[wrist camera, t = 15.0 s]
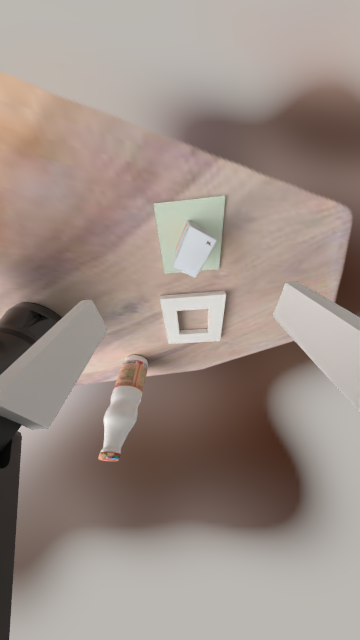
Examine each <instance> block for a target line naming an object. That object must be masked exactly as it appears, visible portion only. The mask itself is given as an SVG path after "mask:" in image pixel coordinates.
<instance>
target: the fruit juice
mask: <svg viewBox="0 0 360 640" xmlns="http://www.w3.org/2000/svg"><path fill="white" fill-rule="evenodd" d="M147 369H148V361H147V360H146V359H145V358H144V357H142V356H138V355H131V356H128V357H127V358H126V359H125V361H124V363H123V366H122V368H121V371H120V374H119V376H118V379H117V382H116V384H115V387H114V390H113V392H112V396H111V404H110V406H109V408H108V409H107V411H106V413H105V416H104V428H105V431H104V446H103V449H102V450H101V452H100V454H99V459H100V460H103V461H118V460H119V458H120V455H121V454H120V453H121V451H120V450H121V447H122V444H123V443H124V441H125V439H126V437H127V435H128V433H129V431H130V430H131V428H132V427H133V426H134V424H135V422H136V419H137V407H138V406H139V403H140V401H141V397H142V393H143V388H144V383H145V378H146V374H147Z"/></svg>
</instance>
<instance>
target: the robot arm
mask: <svg viewBox="0 0 360 640" xmlns="http://www.w3.org/2000/svg"><path fill="white" fill-rule="evenodd" d="M273 317H274V319H275V320H276V321H277V322H278V323H279V324H280V325H281V326H282V327H283V328H284V330H285V331H286V332H287V333H288V334H289V335H290V336H291V337H292V338H293V339H294V341H295V342H296V343H297V344H298V345H299V346H300V347H301V348H302V349H303V350H304V351H305V353H306V354H307V355H308V356H309V357H310V358H311V359H312V360H313V362H314V363H315V364H316V365H317V366H318V367H319V368H320V369H321V370H322V371H323V373H324V374H325V375H326V376H327V377H328V378H329V379H330V380H331V381H332V383H334V385H335V386H336V387H337V388H338V389H339V390H340V391H341V392H342V393H343V395H344V396H345V397H346V398H347V399H348V400H349V401H350V402H351V403H352V404H353V406H354V407H355V408H356V409H357V410H358V411H359V412H360V317H358V316H356V315H354V314H353V313H351V312H349V311H347V310H346V309H344V308H342V307H341V306H339V305H337V304H336V303H334V302H332V301H330V300H329V299H327V298H325V297H324V296H322V295H320V294H318V293H317V292H315V291H313V290H312V289H310V288H308V287H306V286H305V285H303V284H301V283H300V282H298V281H297V282H286V283H285V286H284V288H283V291H282V293H281V296H280V298H279V301H278V303H277V306H276V308H275V311H274V314H273ZM107 330H108V328H107V327H106V325H105V323H104V321H103V319H102V317H101V315H100V314H99V312H98V310H97V308H96V306H95V304H94V303H93V301H92V299H91V300H81V301H80V302H79V303H78V304H77V305H76V306H75V307H74V308H72V309H71V310H70V311H69V312H68V313H67V314H66V315H65V316H64V317H63V318H61V317H60V316H59V315H57V314H56V313H55V312H53V311H51V310H49V309H48V308H45V307H43V306H40V305H37V304H33V303H20V304H17V305H15V306H14V307H12V308H10V309H9V310H8V311H7V312H6V313H5V314H4V315H3V317H2V318H1V319H0V640H9V632H10V616H11V599H12V584H13V568H14V551H15V535H16V519H17V503H18V488H19V472H20V456H21V455H20V454H21V440H22V437H21V433H20V432H18V429H19V428H20V426H21V425H23V426H25V427H28V428H30V429H49V427H50V426H51V424H52V422H53V421H54V419H55V417H56V416H57V414H58V412H59V410H60V409H61V407H62V405H63V404H64V402H65V400H66V399H67V397H68V395H69V394H70V392H71V390H72V388H73V387H74V385H75V384H76V382H77V380H78V379H79V377H80V375H81V373H82V372H83V370H84V368H85V367H86V365H87V363H88V362H89V360H90V358H91V357H92V355H93V353H94V352H95V350H96V348H97V346H98V345H99V343H100V341H101V340H102V338H103V336H104V335H105V333H106V331H107Z"/></svg>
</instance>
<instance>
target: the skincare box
mask: <svg viewBox="0 0 360 640" xmlns="http://www.w3.org/2000/svg"><path fill="white" fill-rule="evenodd" d="M216 242H217V239H215V238H214V237H213V236H212V235H211V234H210V233H208V232H207V231H206V230H205V229H203V228H201V227H200V226H198V225H196V224H195V223H193V222H191V221H189V220H187V222H186V225H185V227H184V230H183V232H182V235H181V237H180V240H179V242H178V245H177V247H176V249H175V255H174V262H173V268H175V269H177V270H179V271H181V272H183V273H185V274H187V275H189V276H191V277H194V278H196V277H197V275H198V274H199V272H200V270H201V268H202V267H203V265H204V264H205V262H206V260H207V258H208V256H209V254H210V252H211V251H212V249H213V247H214V245H215V243H216Z"/></svg>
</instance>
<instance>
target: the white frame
mask: <svg viewBox="0 0 360 640" xmlns="http://www.w3.org/2000/svg"><path fill="white" fill-rule="evenodd" d="M225 300H226V293H225V291H214V292H201V293H188V294H175V295H161V296H160V303H161V308H162V313H163V318H164V323H165V328H166V333H167V338H168V343H169V344H176V343H194V342H211V341H220V339H221V331H222V323H223V316H224V308H225ZM197 309H208V325H207V329H192V330H179V322H178V313H177V311H183V310H197Z"/></svg>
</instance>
